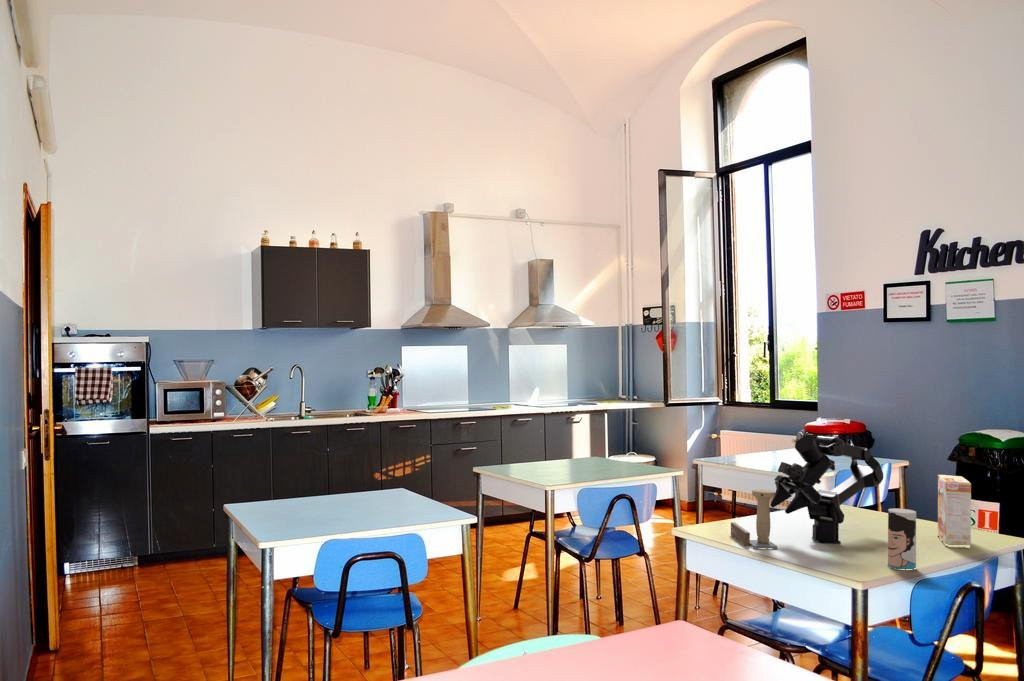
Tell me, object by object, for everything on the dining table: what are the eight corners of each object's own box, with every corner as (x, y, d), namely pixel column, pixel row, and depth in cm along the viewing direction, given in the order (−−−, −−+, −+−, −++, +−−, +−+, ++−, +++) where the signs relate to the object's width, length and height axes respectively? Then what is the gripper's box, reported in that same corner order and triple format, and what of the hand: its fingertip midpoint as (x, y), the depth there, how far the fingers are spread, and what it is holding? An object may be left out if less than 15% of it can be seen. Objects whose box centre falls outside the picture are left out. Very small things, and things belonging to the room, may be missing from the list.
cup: (888, 562, 223) (888, 507, 223) (915, 566, 220) (916, 510, 220) (887, 568, 217) (887, 511, 217) (915, 572, 214) (916, 514, 214)
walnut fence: (734, 535, 255) (734, 522, 255) (749, 546, 240) (749, 532, 240) (730, 535, 255) (730, 522, 255) (745, 546, 240) (745, 532, 240)
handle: (772, 545, 238) (773, 493, 238) (750, 542, 241) (750, 491, 242) (776, 542, 242) (776, 491, 243) (753, 539, 245) (754, 489, 246)
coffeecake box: (936, 536, 257) (937, 474, 258) (962, 538, 255) (962, 475, 255) (944, 547, 243) (944, 481, 244) (971, 549, 241) (972, 482, 241)
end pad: (768, 542, 245) (768, 540, 245) (777, 549, 237) (777, 546, 237) (745, 542, 245) (745, 539, 245) (754, 549, 237) (754, 546, 237)
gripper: (780, 448, 254) (746, 485, 253) (810, 457, 236) (775, 496, 234) (804, 473, 256) (770, 510, 254) (836, 483, 237) (801, 523, 235)
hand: (778, 509), depth 244 cm, fingers open, 9 cm apart
